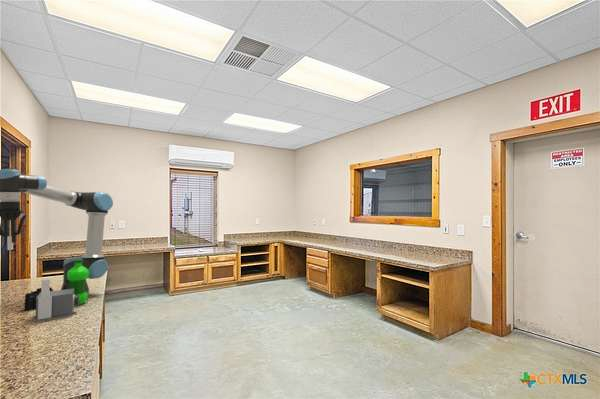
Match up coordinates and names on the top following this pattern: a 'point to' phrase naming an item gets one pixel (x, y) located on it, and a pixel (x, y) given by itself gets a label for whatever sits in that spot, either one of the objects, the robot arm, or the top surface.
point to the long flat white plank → (45, 301)
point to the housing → (60, 304)
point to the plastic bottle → (78, 280)
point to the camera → (32, 299)
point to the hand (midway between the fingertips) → (10, 249)
